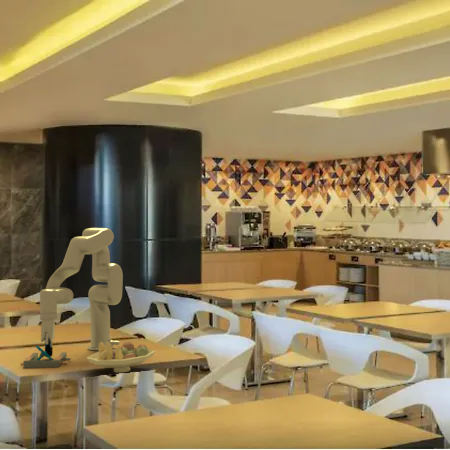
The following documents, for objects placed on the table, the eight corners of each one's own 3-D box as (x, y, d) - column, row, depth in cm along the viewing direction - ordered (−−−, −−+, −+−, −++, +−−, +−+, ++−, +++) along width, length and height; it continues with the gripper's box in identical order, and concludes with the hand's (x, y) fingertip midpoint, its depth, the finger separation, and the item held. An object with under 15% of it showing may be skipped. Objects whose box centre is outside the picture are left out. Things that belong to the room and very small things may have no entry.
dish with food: (80, 378, 302) (80, 342, 302) (95, 364, 330) (94, 332, 330) (149, 378, 301) (149, 342, 301) (158, 365, 329) (158, 332, 329)
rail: (71, 357, 349) (71, 350, 349) (64, 367, 325) (64, 360, 325) (28, 358, 347) (28, 351, 347) (17, 368, 323) (17, 361, 323)
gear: (55, 359, 334) (38, 344, 333) (46, 369, 332) (29, 354, 331) (52, 358, 345) (36, 343, 343) (43, 368, 343) (27, 353, 341)
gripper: (43, 314, 351) (43, 353, 351) (37, 318, 336) (37, 359, 336) (59, 314, 352) (59, 353, 352) (54, 318, 337) (54, 359, 337)
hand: (48, 356), depth 344 cm, fingers closed
